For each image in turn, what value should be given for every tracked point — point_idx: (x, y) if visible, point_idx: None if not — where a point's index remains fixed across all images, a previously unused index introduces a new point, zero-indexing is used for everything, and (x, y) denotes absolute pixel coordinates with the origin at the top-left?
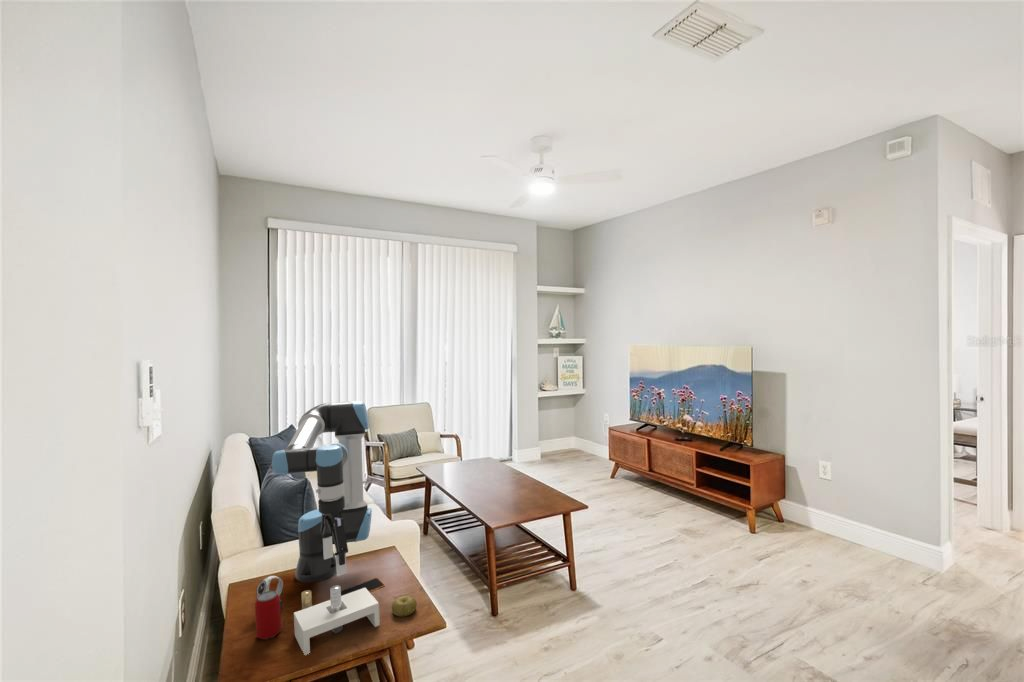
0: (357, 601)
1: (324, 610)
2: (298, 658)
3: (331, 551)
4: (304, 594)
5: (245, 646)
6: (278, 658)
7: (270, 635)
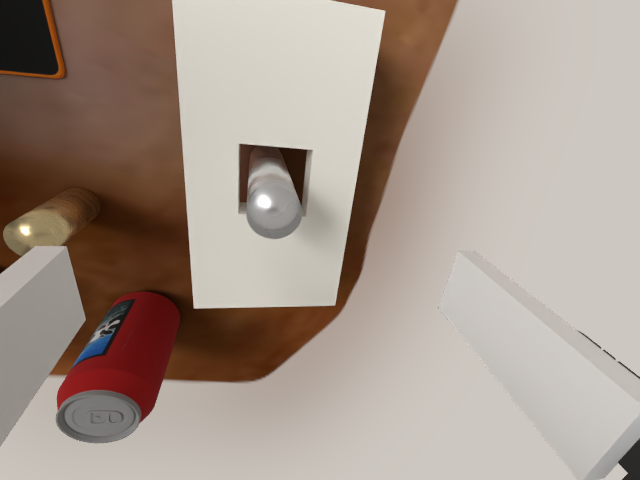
0: (292, 88)
1: None
2: None
3: (30, 298)
4: None
5: (172, 357)
6: (282, 310)
7: (179, 321)
